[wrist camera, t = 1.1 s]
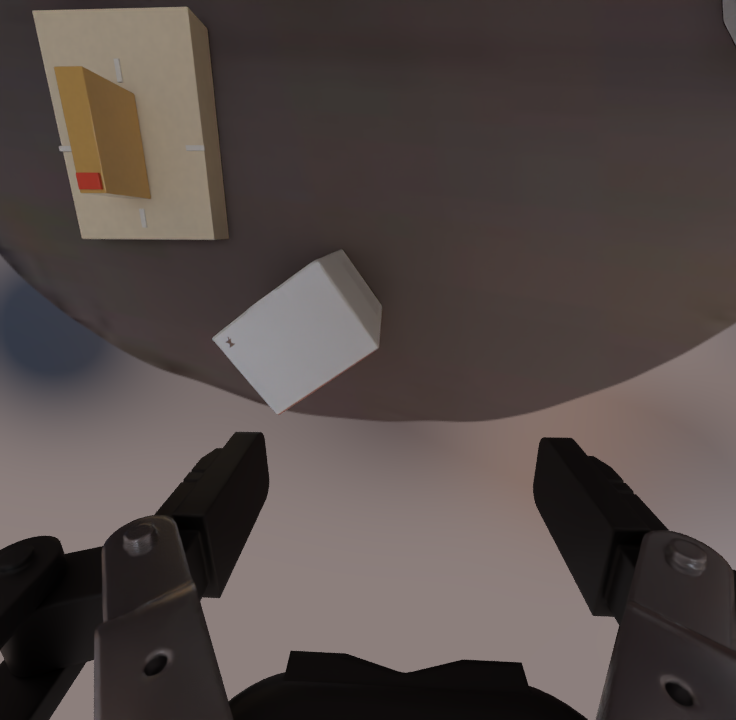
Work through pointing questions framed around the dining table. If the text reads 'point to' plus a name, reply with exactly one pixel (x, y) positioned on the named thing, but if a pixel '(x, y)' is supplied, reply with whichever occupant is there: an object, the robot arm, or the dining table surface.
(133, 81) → the base
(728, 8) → the french press
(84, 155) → the tan rectangular block
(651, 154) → the dining table surface
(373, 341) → the small box
